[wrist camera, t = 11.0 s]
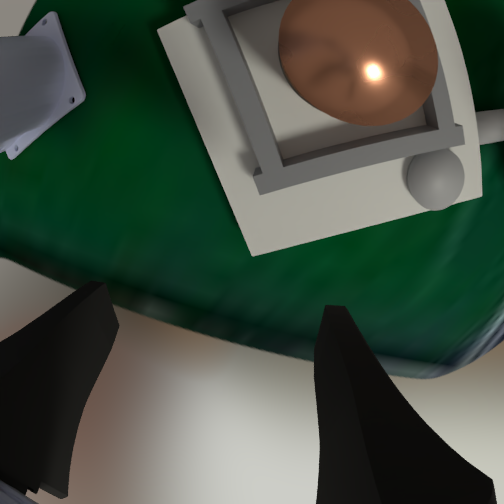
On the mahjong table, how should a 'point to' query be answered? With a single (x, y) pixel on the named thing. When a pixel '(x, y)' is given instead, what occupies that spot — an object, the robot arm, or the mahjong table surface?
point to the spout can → (358, 58)
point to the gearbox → (320, 131)
